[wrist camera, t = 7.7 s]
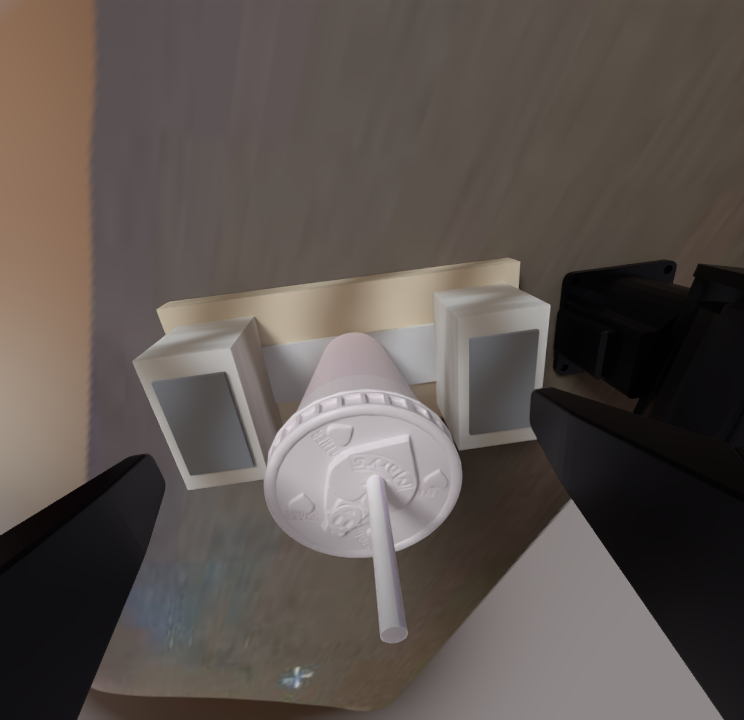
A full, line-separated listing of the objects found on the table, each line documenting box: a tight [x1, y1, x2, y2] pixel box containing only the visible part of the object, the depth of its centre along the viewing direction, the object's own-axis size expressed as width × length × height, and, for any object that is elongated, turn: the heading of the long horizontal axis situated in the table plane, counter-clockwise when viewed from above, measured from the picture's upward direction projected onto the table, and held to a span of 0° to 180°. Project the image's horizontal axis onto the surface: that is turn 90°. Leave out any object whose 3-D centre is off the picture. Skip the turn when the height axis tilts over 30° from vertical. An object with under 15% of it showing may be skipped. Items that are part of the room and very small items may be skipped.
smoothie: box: [264, 332, 462, 643], centre depth 14 cm, size 6×6×14 cm
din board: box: [132, 258, 551, 490], centre depth 19 cm, size 19×9×6 cm, turn 97°
